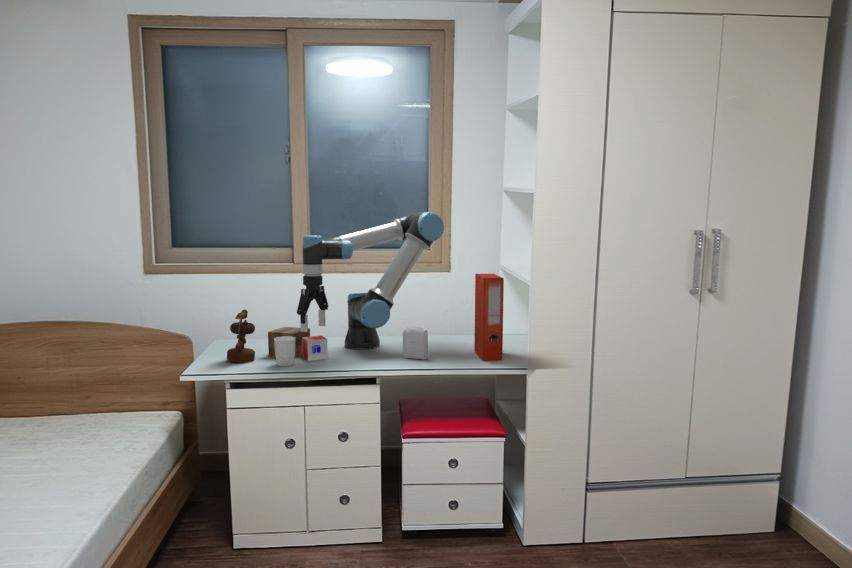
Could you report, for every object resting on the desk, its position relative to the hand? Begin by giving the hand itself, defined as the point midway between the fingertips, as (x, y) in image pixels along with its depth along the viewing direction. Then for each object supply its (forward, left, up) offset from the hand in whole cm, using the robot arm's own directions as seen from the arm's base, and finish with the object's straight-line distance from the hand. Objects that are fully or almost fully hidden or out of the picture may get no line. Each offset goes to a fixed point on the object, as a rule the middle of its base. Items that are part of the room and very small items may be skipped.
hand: (313, 328), depth 252 cm
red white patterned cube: (0, 0, -12) cm, 12 cm away
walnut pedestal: (+12, -2, -12) cm, 17 cm away
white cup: (+5, +13, -12) cm, 18 cm away
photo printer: (-38, -12, -12) cm, 42 cm away
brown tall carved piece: (+25, +13, -12) cm, 30 cm away
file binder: (-64, -25, -12) cm, 70 cm away
